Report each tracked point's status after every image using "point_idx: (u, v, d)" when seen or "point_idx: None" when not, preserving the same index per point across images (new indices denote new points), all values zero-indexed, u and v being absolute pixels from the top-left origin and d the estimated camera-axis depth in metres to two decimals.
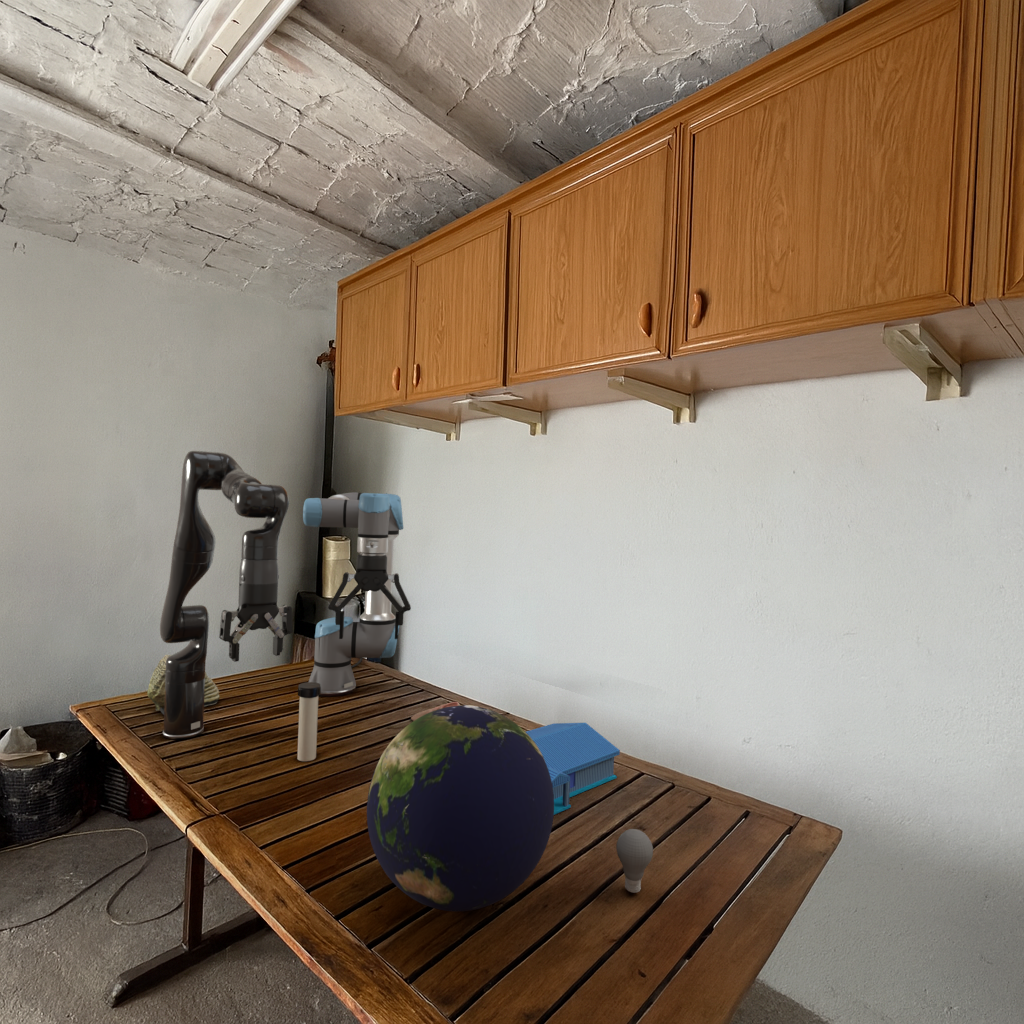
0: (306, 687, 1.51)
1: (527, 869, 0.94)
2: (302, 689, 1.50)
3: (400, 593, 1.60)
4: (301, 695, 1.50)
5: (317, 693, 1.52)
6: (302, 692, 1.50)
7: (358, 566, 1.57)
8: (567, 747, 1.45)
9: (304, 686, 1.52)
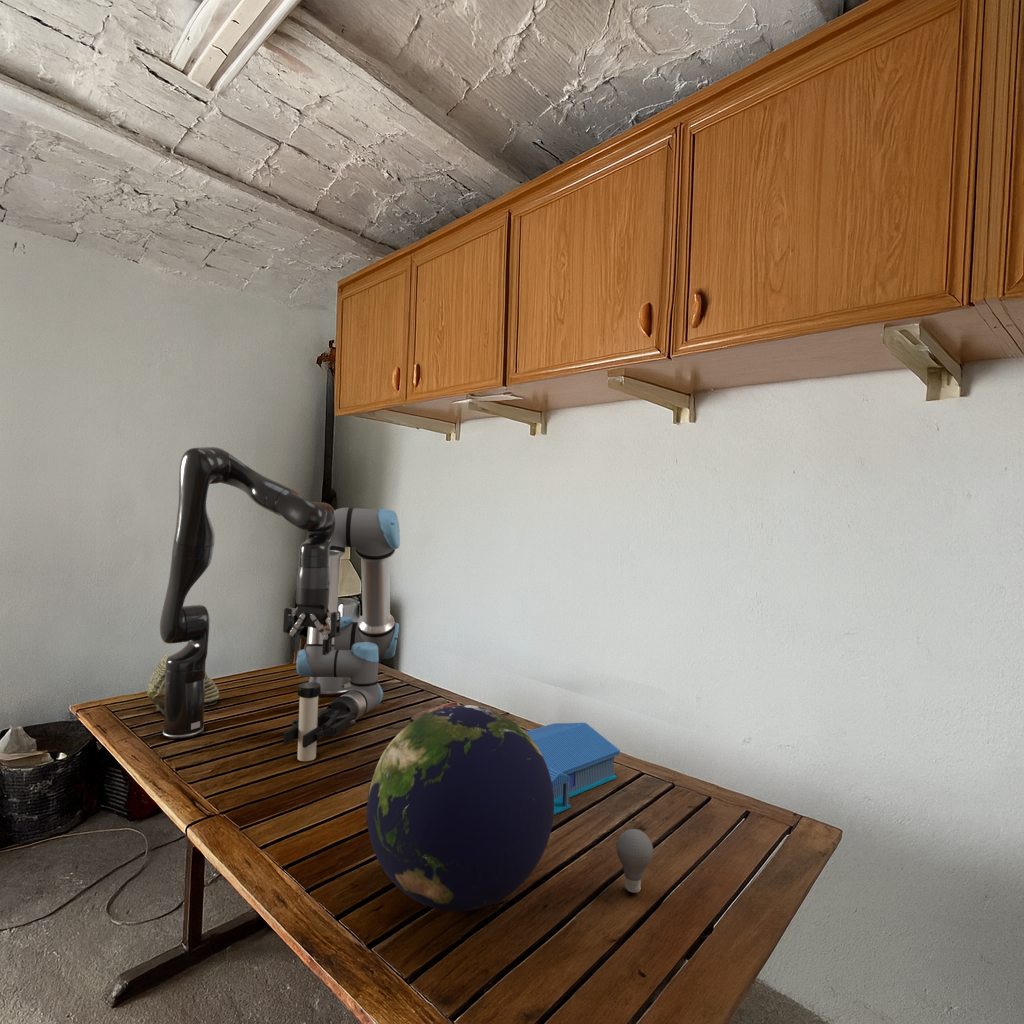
0: (306, 687, 1.51)
1: (527, 869, 0.94)
2: (302, 689, 1.50)
3: None
4: (301, 695, 1.50)
5: (317, 693, 1.52)
6: (302, 692, 1.50)
7: None
8: (567, 747, 1.45)
9: (304, 686, 1.52)
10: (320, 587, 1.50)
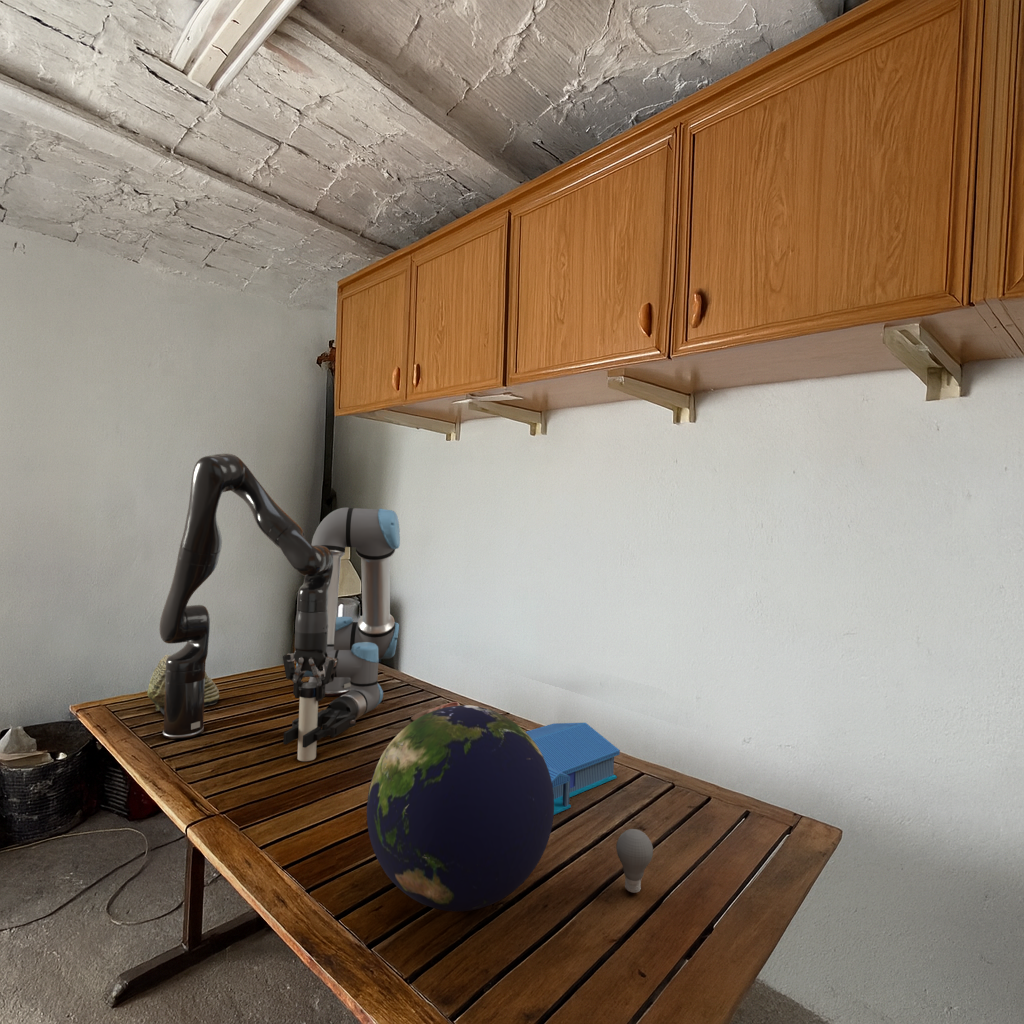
0: (306, 687, 1.51)
1: (527, 869, 0.94)
2: (302, 689, 1.50)
3: None
4: (301, 695, 1.50)
5: None
6: (302, 692, 1.50)
7: None
8: (567, 747, 1.45)
9: (304, 686, 1.52)
10: (318, 631, 1.50)
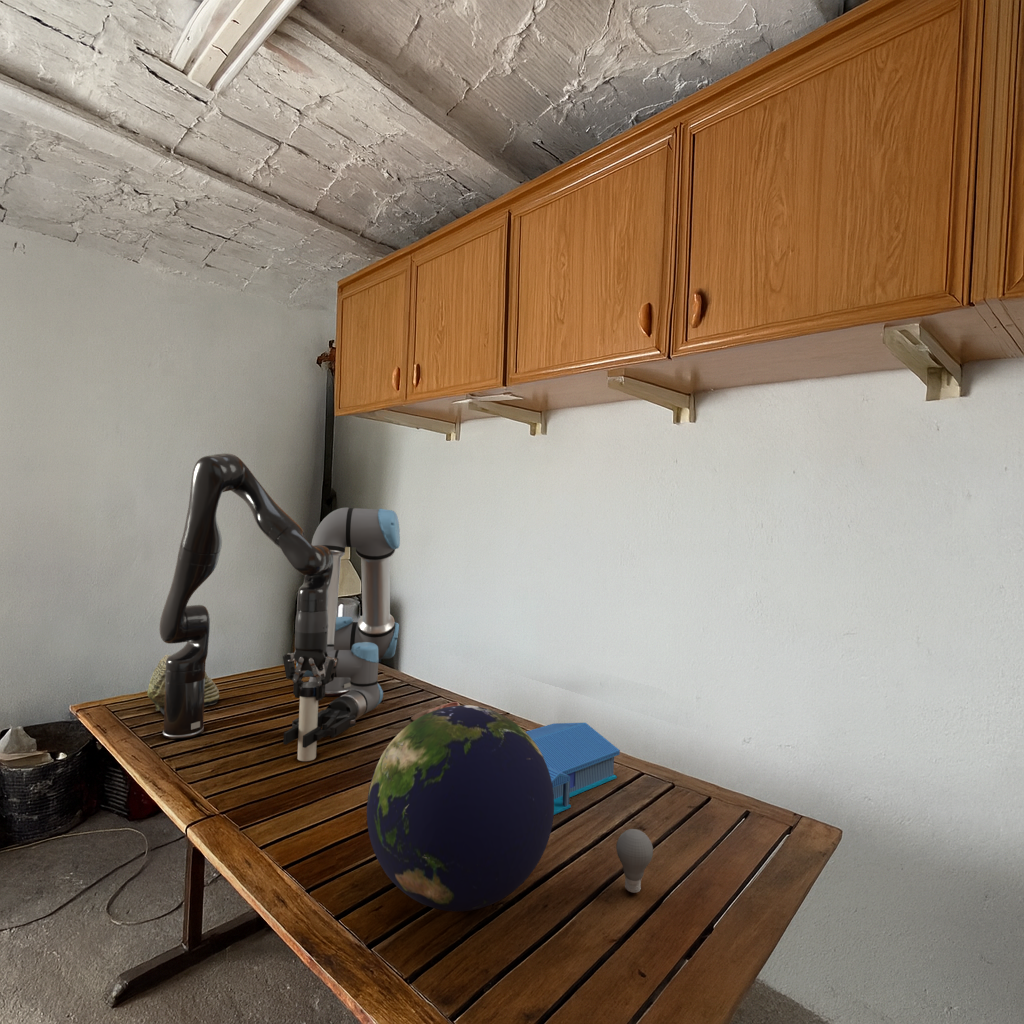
0: (316, 685, 1.52)
1: (527, 869, 0.94)
2: None
3: None
4: None
5: None
6: None
7: None
8: (567, 747, 1.45)
9: (311, 686, 1.52)
10: (318, 631, 1.50)
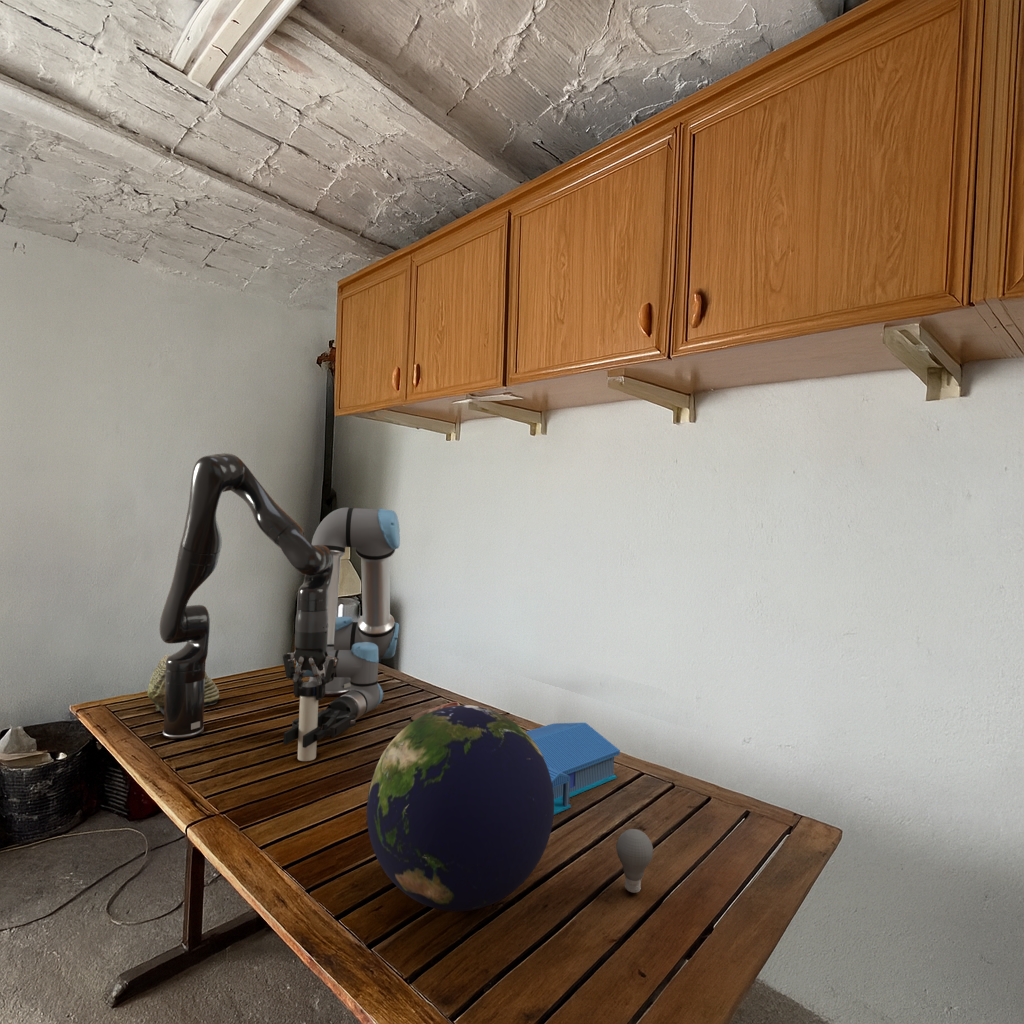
0: (314, 682, 1.55)
1: (527, 869, 0.94)
2: None
3: None
4: None
5: None
6: None
7: None
8: (567, 747, 1.45)
9: (315, 683, 1.53)
10: (318, 631, 1.50)
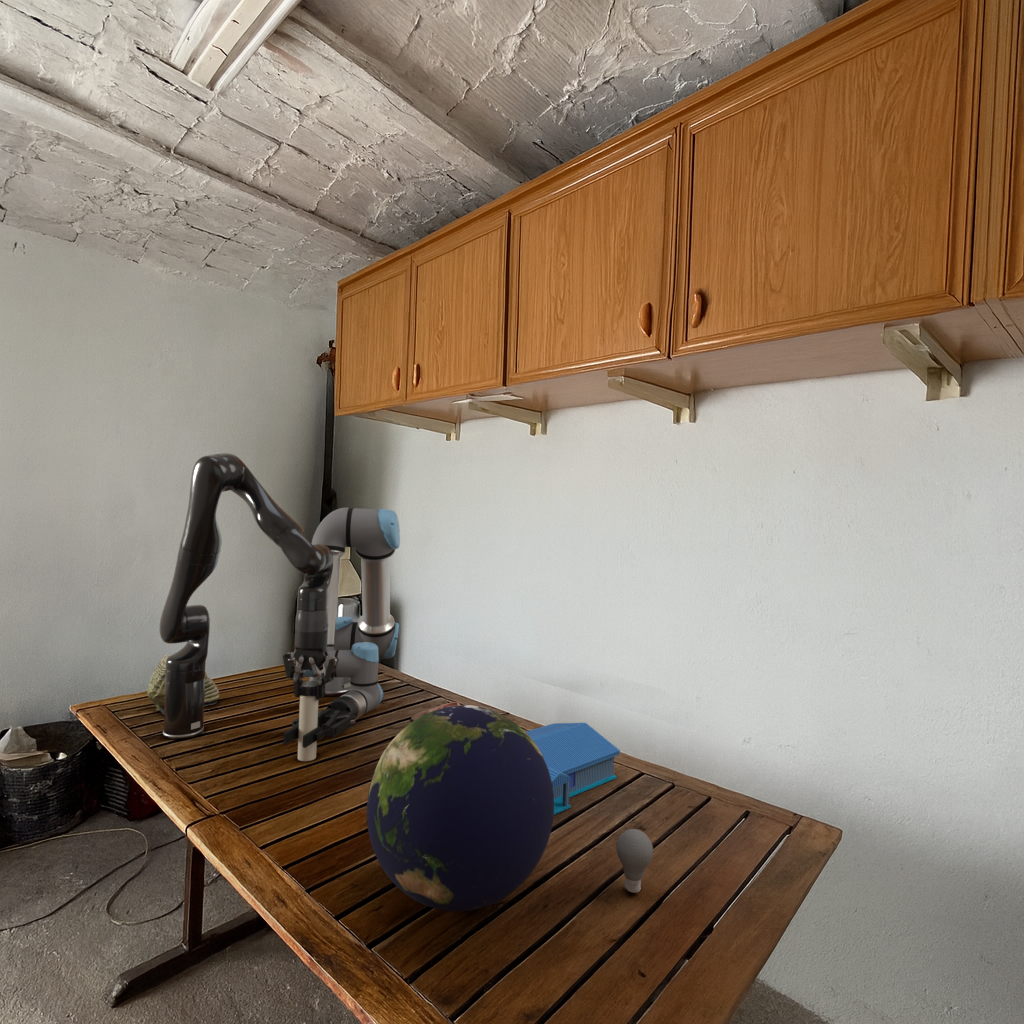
0: (304, 682, 1.54)
1: (527, 869, 0.94)
2: None
3: None
4: None
5: (299, 692, 1.51)
6: None
7: None
8: (567, 747, 1.45)
9: (309, 682, 1.54)
10: (318, 630, 1.50)
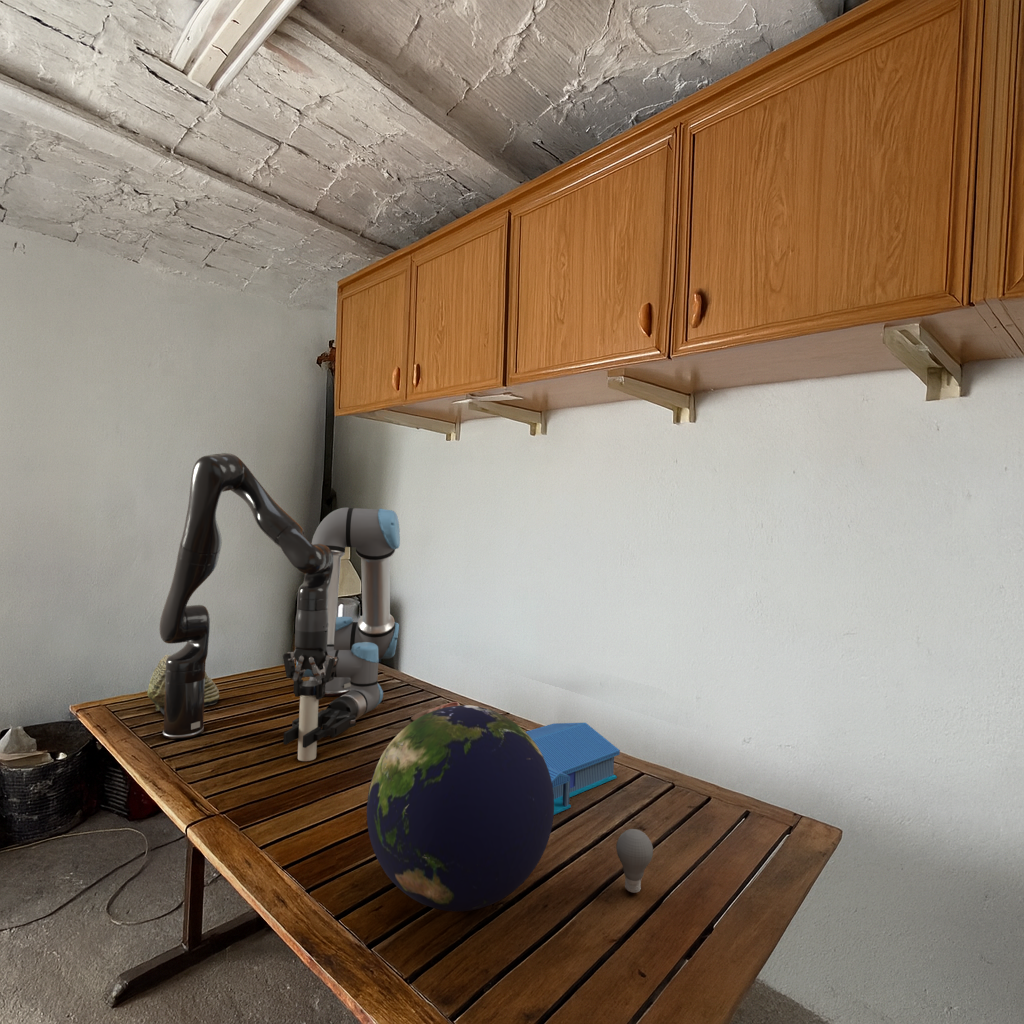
0: (303, 685, 1.51)
1: (527, 869, 0.94)
2: (299, 686, 1.51)
3: None
4: (298, 692, 1.51)
5: (312, 692, 1.51)
6: (299, 688, 1.51)
7: None
8: (567, 747, 1.45)
9: (304, 683, 1.53)
10: (318, 630, 1.50)
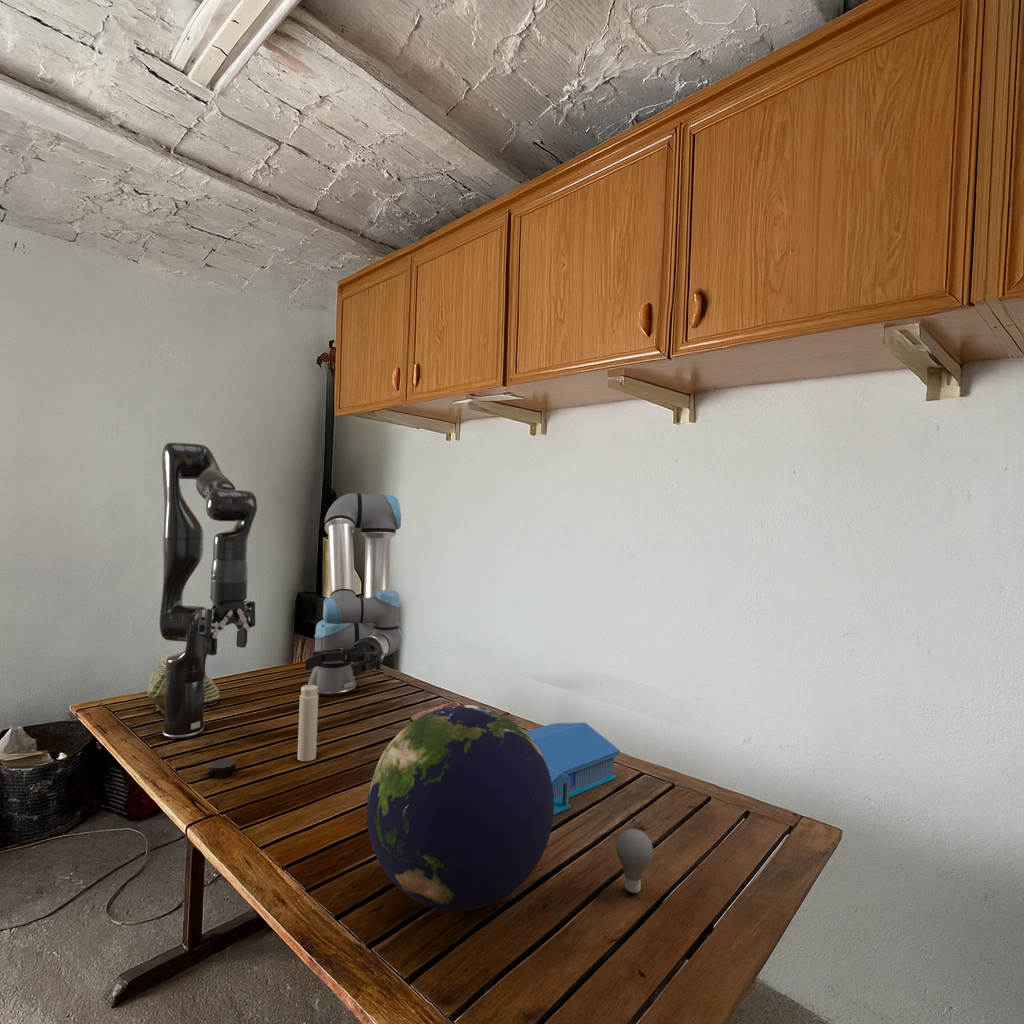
0: (231, 761, 1.44)
1: (527, 869, 0.94)
2: (234, 763, 1.44)
3: None
4: (234, 770, 1.44)
5: None
6: (234, 766, 1.44)
7: (375, 660, 1.78)
8: (567, 747, 1.45)
9: (228, 763, 1.43)
10: None
